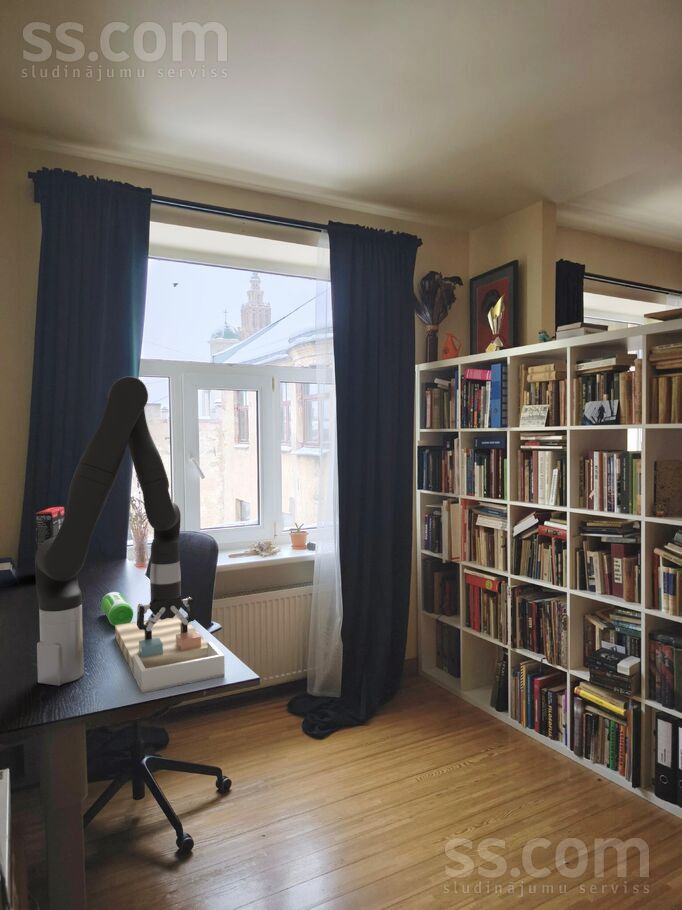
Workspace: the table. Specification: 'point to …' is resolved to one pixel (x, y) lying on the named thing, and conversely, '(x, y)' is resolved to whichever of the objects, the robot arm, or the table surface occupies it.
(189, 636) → the terracotta tile
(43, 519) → the graphics card box
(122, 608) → the speaker
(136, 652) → the wooden tray board
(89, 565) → the table surface
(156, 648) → the teal tile
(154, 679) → the box
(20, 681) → the table surface
